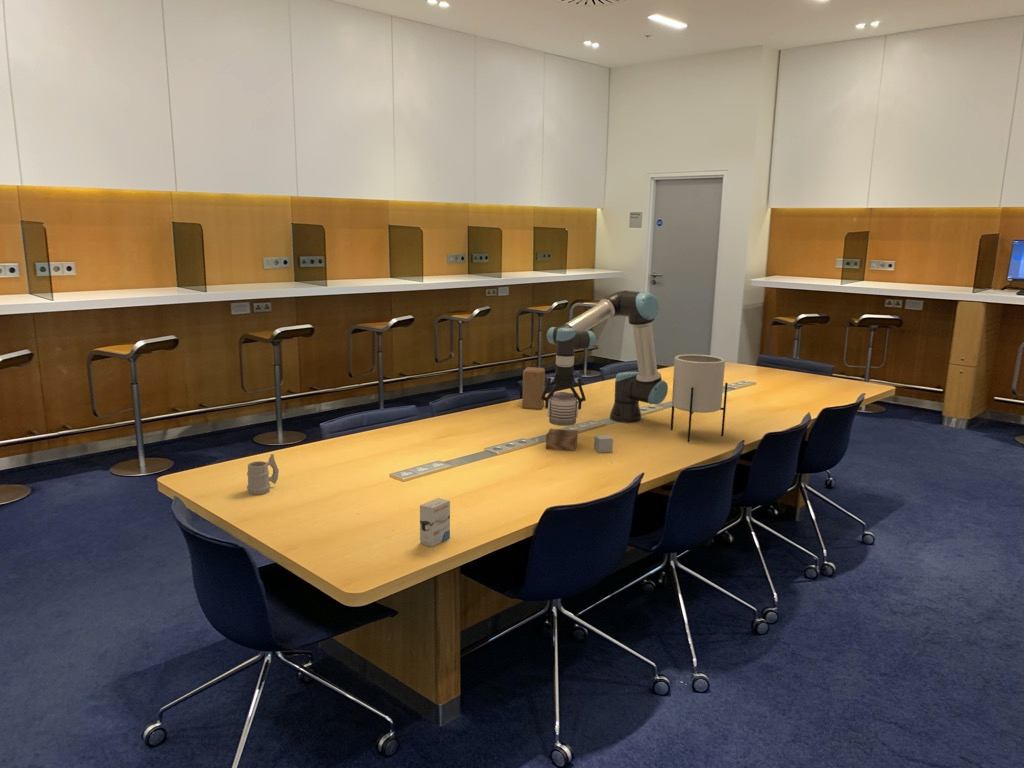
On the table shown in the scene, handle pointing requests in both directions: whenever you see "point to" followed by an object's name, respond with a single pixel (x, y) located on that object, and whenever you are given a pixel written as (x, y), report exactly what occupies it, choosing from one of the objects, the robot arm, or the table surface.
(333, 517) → the table surface
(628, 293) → the robot arm
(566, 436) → the walnut block
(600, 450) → the slate block
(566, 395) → the can
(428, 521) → the ink box
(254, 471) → the mug
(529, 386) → the wooden block
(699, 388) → the plant pot with stand
